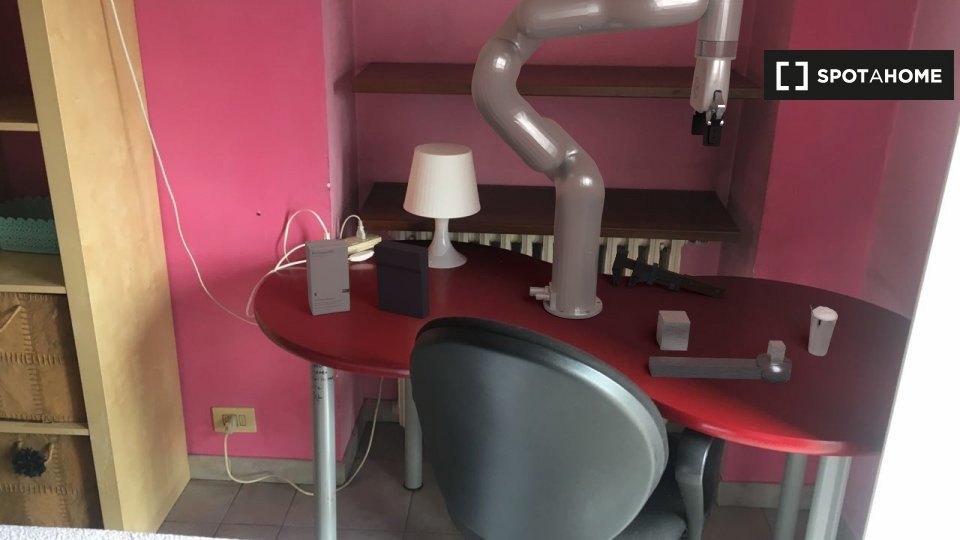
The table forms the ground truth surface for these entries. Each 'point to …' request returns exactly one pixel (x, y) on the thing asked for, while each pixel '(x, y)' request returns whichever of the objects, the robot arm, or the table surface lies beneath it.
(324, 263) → the skincare box
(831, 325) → the milkshake
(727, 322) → the table surface
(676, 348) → the pale grey cube
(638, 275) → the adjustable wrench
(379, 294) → the black lidded box
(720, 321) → the table surface
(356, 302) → the table surface
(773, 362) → the ratchet
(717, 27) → the robot arm
